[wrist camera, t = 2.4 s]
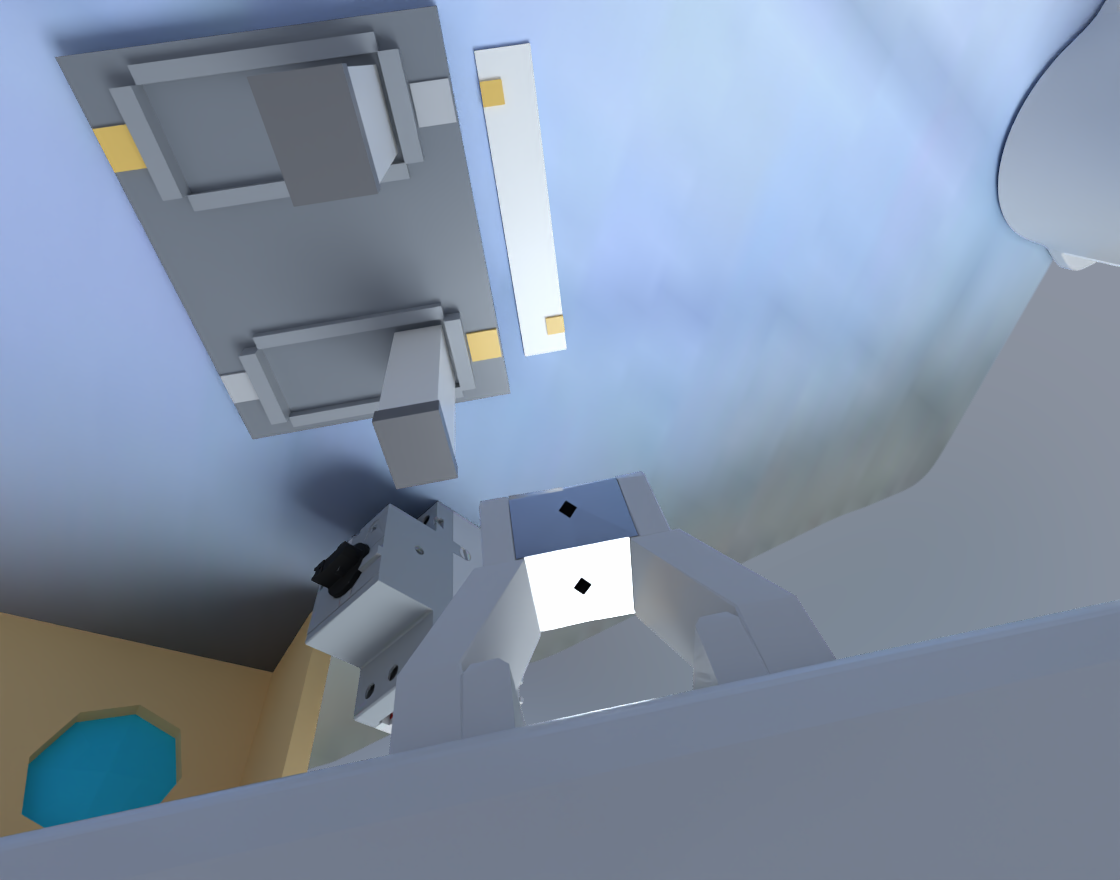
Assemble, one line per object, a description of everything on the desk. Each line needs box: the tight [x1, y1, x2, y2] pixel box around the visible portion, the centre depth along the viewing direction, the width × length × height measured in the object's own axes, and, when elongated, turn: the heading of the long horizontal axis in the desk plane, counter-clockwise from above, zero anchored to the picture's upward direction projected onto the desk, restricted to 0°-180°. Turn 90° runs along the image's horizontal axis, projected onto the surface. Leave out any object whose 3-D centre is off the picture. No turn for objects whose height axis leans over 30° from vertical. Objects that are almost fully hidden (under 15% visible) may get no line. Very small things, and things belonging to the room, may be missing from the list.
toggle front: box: [247, 63, 398, 207], centre depth 25 cm, size 3×4×11 cm
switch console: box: [55, 6, 567, 439], centre depth 34 cm, size 22×22×3 cm
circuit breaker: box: [305, 501, 523, 734], centre depth 42 cm, size 8×14×15 cm, turn 42°
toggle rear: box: [372, 325, 458, 489], centre depth 33 cm, size 3×4×11 cm
